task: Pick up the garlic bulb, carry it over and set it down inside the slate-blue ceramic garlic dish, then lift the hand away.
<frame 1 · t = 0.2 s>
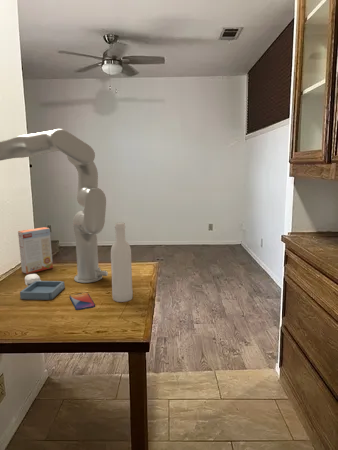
bottle: (122, 298, 139), on the table
garlic: (32, 283, 160), on the table
garlic dish: (43, 293, 146), on the table
smartphone: (82, 302, 137), on the table
cracker box: (37, 270, 178), on the table
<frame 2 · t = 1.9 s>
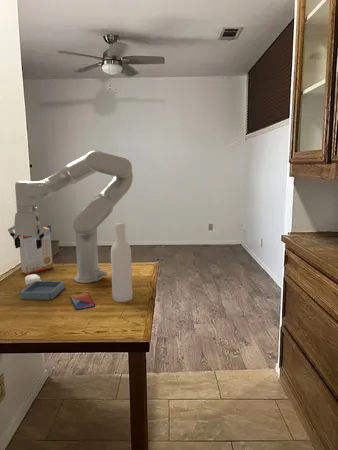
hand: (28, 247, 157), 16 cm above the table, tool pointing down, fingers open, 9 cm apart
nothing on the table moved.
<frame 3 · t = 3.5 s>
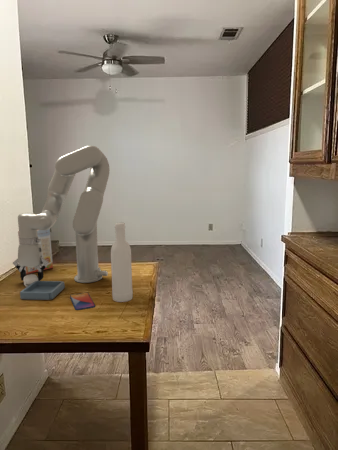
hand: (32, 279, 160), 1 cm above the table, tool pointing down, fingers closed on garlic, 7 cm apart
garlic: (31, 283, 158), on the table, touching gripper
everything else where it was.
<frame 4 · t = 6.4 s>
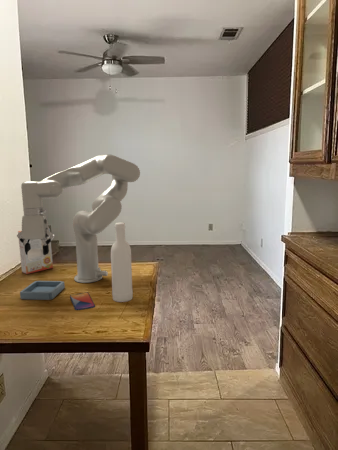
hand: (37, 253, 148), 16 cm above the table, tool pointing down, fingers closed on garlic, 7 cm apart
garlic: (36, 258, 147), point 14 cm above the table, touching gripper
everything else where it was.
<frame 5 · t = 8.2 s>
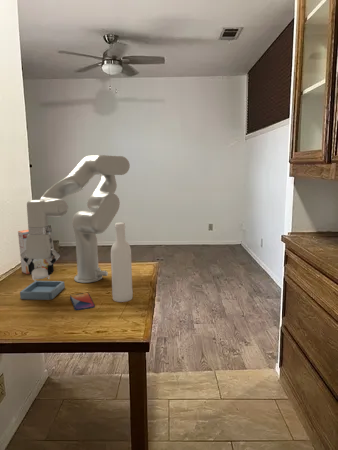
hand: (41, 273, 144), 8 cm above the table, tool pointing down, fingers closed on garlic, 7 cm apart
garlic: (40, 278, 143), point 7 cm above the table, touching gripper
everything else where it was.
when the fingers open (4 cm above the table, at t = 9.6 s): garlic stays where it is, resting on garlic dish.
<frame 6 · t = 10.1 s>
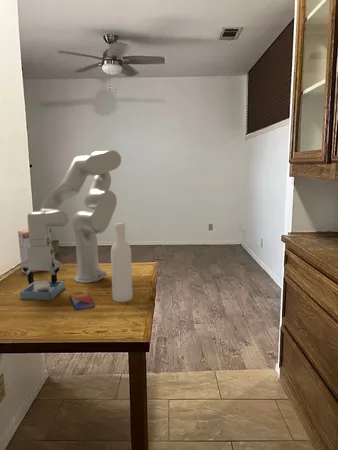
hand: (42, 283, 145), 4 cm above the table, tool pointing down, fingers open, 9 cm apart
garlic: (41, 291, 144), point 2 cm above the table, touching garlic dish
everything else where it was.
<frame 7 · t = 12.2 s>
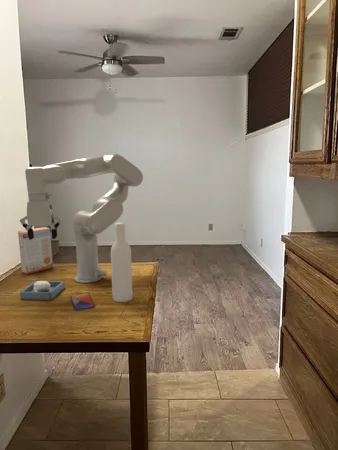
hand: (43, 238, 147), 22 cm above the table, tool pointing down, fingers open, 9 cm apart
nothing on the table moved.
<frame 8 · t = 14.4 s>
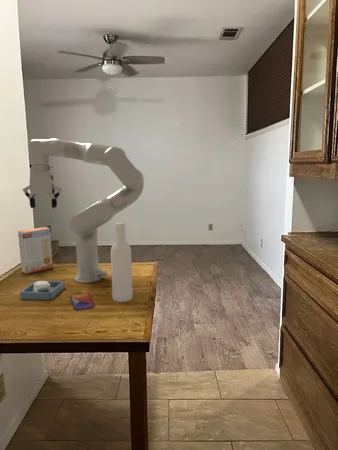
hand: (43, 207, 157), 33 cm above the table, tool pointing down, fingers open, 9 cm apart
nothing on the table moved.
at the end: garlic inside the target area on the garlic dish (1.9 cm from its centre), point 1.6 cm above the garlic dish's base; the gripper is holding nothing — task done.
